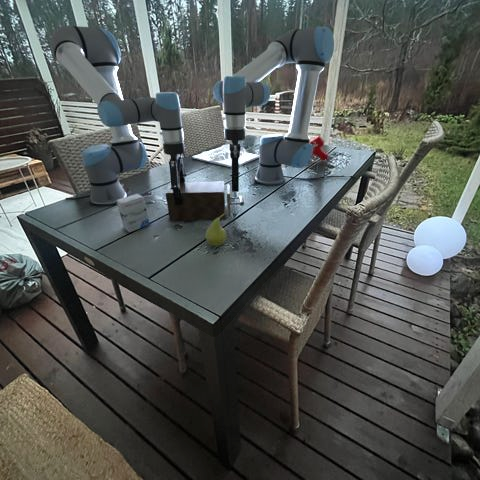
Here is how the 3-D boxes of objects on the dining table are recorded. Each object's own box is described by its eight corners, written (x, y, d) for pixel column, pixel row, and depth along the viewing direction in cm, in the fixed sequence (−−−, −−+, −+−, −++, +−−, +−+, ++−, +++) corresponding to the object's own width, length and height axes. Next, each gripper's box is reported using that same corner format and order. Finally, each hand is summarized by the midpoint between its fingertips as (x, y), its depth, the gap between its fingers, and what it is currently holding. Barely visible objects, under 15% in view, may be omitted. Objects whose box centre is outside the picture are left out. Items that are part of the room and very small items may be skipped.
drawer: (243, 205, 117) (243, 183, 111) (244, 216, 108) (244, 193, 103) (182, 206, 116) (179, 185, 110) (179, 217, 107) (175, 194, 102)
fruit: (204, 241, 94) (201, 210, 88) (224, 237, 97) (223, 206, 90) (209, 251, 89) (206, 219, 83) (230, 246, 91) (229, 215, 85)
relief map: (234, 168, 162) (234, 159, 159) (192, 158, 180) (191, 150, 177) (259, 157, 180) (259, 149, 178) (219, 149, 198) (218, 142, 195)
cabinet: (225, 207, 117) (224, 181, 111) (224, 219, 108) (223, 191, 102) (174, 208, 117) (170, 182, 110) (169, 221, 107) (165, 193, 101)
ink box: (144, 220, 108) (137, 192, 101) (150, 224, 105) (144, 196, 98) (123, 228, 103) (115, 199, 96) (129, 232, 100) (121, 203, 93)
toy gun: (332, 155, 171) (320, 134, 167) (331, 157, 167) (319, 136, 164) (306, 170, 181) (294, 151, 177) (306, 172, 177) (293, 153, 174)
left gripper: (168, 134, 106) (176, 187, 118) (155, 150, 86) (166, 211, 98) (187, 134, 106) (193, 187, 118) (178, 150, 87) (186, 211, 99)
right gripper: (224, 124, 100) (225, 185, 113) (223, 131, 89) (225, 197, 102) (244, 124, 100) (243, 185, 113) (246, 131, 89) (245, 197, 102)
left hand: (181, 198), depth 108 cm, fingers closed on cabinet, 11 cm apart
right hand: (235, 191), depth 107 cm, fingers closed
